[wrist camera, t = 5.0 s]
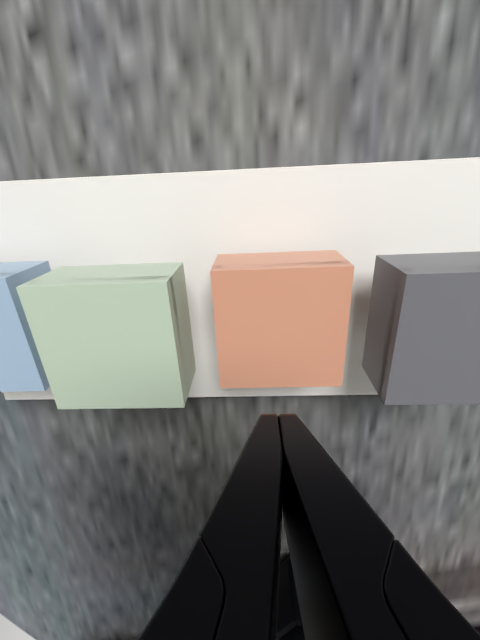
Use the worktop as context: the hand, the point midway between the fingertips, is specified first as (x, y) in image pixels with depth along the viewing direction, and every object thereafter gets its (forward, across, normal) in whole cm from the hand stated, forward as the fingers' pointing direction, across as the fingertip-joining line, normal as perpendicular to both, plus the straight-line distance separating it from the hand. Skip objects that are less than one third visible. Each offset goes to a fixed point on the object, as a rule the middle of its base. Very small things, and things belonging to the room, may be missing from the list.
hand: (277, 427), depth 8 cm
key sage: (+7, +6, 0) cm, 9 cm away
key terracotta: (+8, -1, 0) cm, 8 cm away
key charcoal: (+7, -7, 0) cm, 10 cm away
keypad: (+10, +3, 0) cm, 10 cm away
